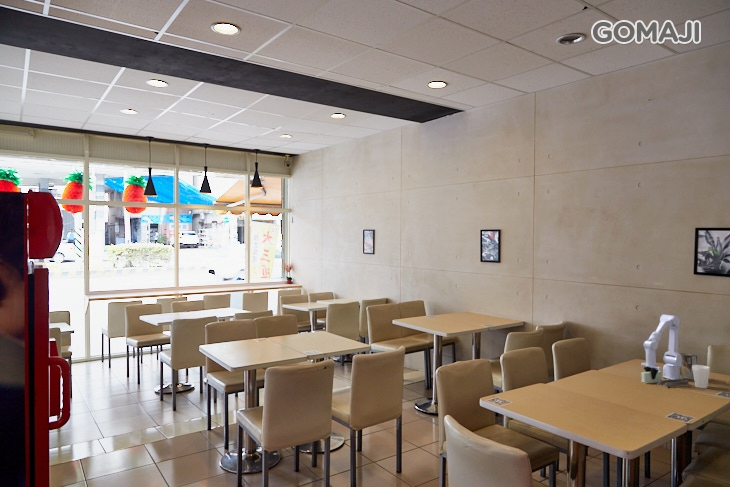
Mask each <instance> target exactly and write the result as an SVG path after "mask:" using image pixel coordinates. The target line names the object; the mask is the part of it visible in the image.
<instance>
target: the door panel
mask: <svg viewBox="0 0 730 487" xmlns="http://www.w3.org/2000/svg"><path fill="white" fill-rule="evenodd" d="M640 375H641V383H642V382H648V383H647V384H654V383H658V381H663V380H662V378H663V377H662V376H663V373H662V370H659V371H658V372H657V374H656V378H655V379H652V377H651V372H646V371H642V372H641V373H640Z"/></svg>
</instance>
